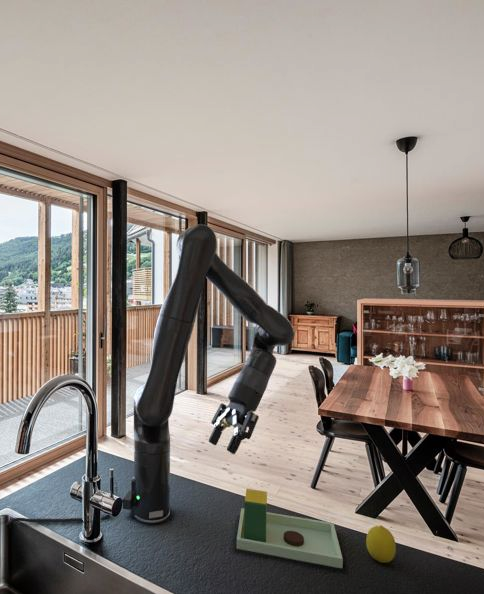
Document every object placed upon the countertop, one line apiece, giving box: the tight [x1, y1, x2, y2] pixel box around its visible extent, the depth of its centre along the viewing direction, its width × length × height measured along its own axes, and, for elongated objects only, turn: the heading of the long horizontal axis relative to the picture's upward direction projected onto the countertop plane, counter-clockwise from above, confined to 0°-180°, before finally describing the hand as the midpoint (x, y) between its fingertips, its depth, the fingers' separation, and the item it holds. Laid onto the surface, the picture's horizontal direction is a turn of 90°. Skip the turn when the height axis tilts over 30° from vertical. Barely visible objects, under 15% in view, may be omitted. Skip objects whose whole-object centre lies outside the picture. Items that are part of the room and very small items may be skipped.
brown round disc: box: [284, 531, 304, 546], centre depth 94 cm, size 4×4×1 cm
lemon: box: [365, 525, 397, 564], centre depth 88 cm, size 6×6×8 cm
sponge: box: [244, 488, 268, 543], centre depth 96 cm, size 5×7×9 cm
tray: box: [236, 507, 344, 569], centre depth 95 cm, size 22×14×3 cm, turn 73°
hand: (220, 447), depth 99 cm, fingers open, 8 cm apart
